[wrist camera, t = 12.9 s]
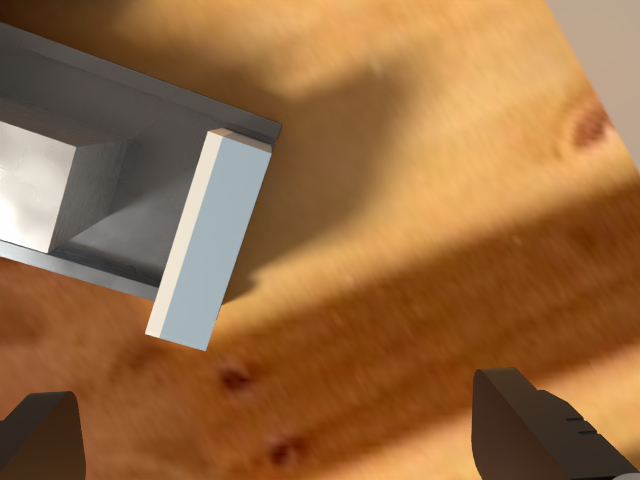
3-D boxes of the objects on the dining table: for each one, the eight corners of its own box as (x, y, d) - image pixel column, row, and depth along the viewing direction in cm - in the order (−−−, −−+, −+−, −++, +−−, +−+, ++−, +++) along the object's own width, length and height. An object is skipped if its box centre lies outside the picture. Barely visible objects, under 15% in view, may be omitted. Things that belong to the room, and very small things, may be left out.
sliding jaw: (271, 144, 28) (271, 153, 21) (220, 293, 30) (205, 350, 23) (223, 127, 28) (208, 131, 21) (175, 280, 30) (144, 333, 22)
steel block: (-8, 179, 28) (-115, 203, 20) (12, 98, 27) (-92, 90, 19) (106, 217, 29) (47, 253, 21) (129, 138, 28) (76, 147, 20)
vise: (281, 123, 30) (286, 126, 21) (220, 306, 32) (201, 378, 23) (-61, -1, 27) (-221, -59, 18) (-104, 209, 29) (-267, 249, 20)
